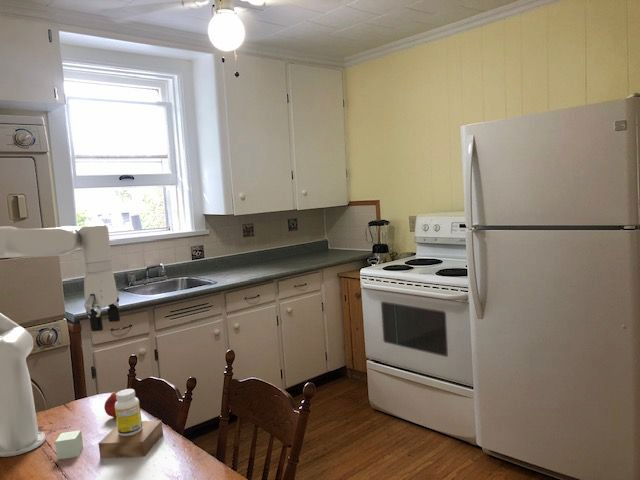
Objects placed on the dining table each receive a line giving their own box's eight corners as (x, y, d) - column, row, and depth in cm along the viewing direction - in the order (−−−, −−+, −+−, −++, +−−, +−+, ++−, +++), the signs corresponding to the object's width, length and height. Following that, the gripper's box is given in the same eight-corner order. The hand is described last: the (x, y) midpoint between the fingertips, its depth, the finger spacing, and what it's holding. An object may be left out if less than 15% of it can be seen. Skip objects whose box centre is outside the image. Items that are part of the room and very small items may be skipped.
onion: (119, 422, 155) (115, 396, 154) (102, 421, 156) (98, 396, 155) (129, 413, 161) (126, 388, 160) (113, 413, 162) (110, 388, 161)
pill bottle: (125, 426, 142) (120, 387, 141) (146, 426, 141) (141, 387, 140) (113, 437, 136) (108, 397, 135) (135, 437, 135) (130, 396, 134)
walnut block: (100, 457, 134) (98, 443, 133) (122, 435, 146) (120, 422, 145) (144, 456, 133) (142, 441, 132) (163, 434, 144) (161, 420, 144)
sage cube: (57, 459, 135) (54, 441, 135) (64, 450, 140) (61, 432, 139) (77, 456, 136) (75, 438, 135) (83, 447, 141) (80, 430, 140)
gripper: (101, 263, 156) (108, 318, 158) (68, 273, 139) (77, 335, 141) (125, 262, 155) (132, 317, 157) (95, 271, 138) (103, 333, 140)
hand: (106, 325), depth 149 cm, fingers open, 9 cm apart
